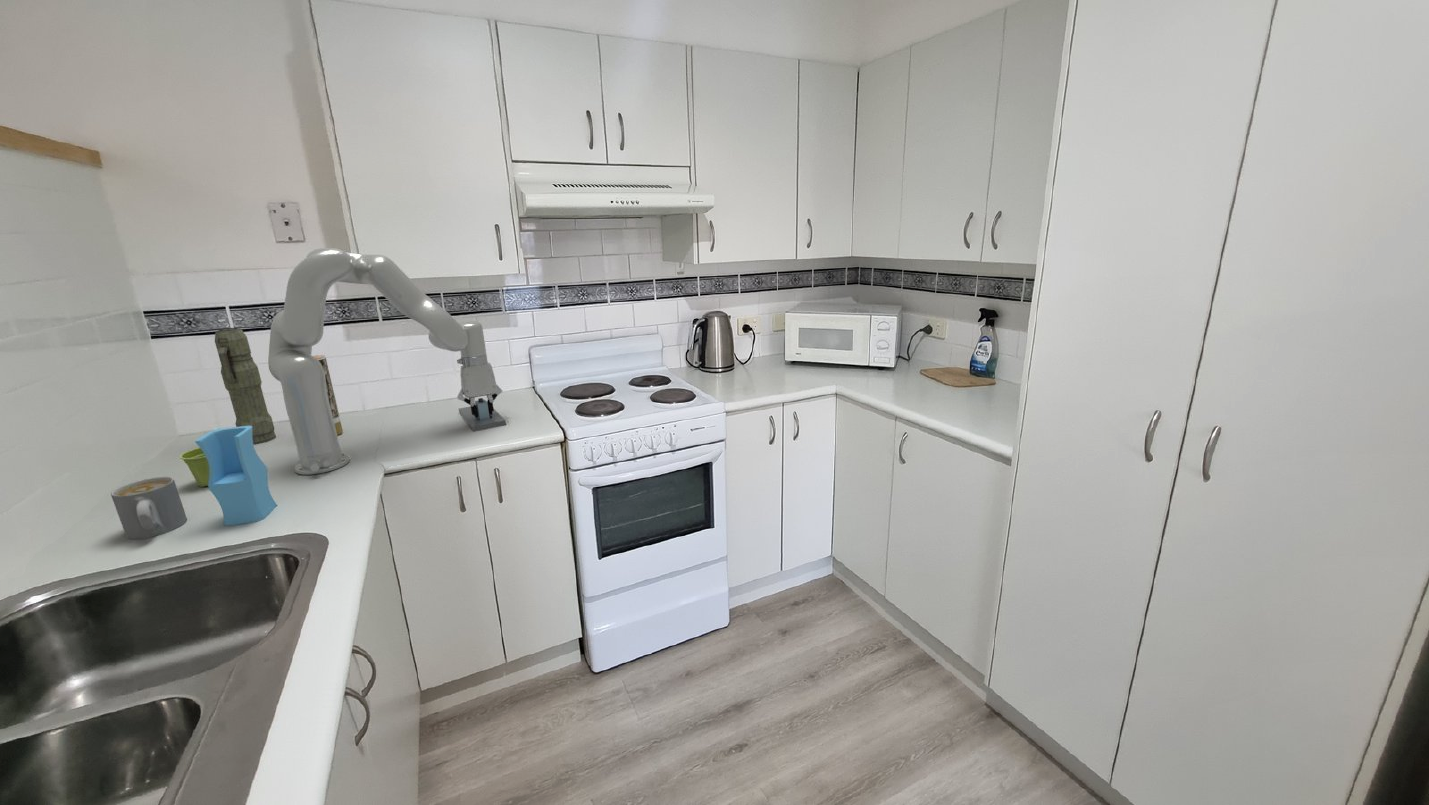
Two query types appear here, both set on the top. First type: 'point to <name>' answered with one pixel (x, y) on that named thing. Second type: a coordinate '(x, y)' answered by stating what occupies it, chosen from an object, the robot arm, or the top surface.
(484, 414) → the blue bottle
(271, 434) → the olive-green tall carved figure
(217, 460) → the blue toy armchair
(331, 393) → the paper tube
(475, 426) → the plate
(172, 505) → the coffee mug
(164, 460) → the top surface
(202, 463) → the plant pot
